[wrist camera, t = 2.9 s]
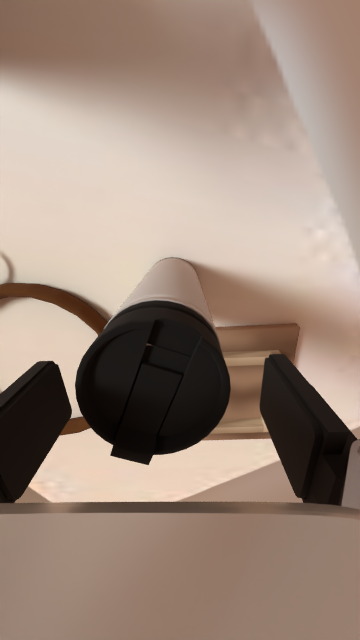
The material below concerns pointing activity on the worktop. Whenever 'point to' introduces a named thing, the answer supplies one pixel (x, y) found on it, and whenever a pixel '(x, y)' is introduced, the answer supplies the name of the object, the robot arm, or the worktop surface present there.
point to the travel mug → (156, 368)
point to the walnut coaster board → (249, 375)
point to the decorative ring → (67, 303)
